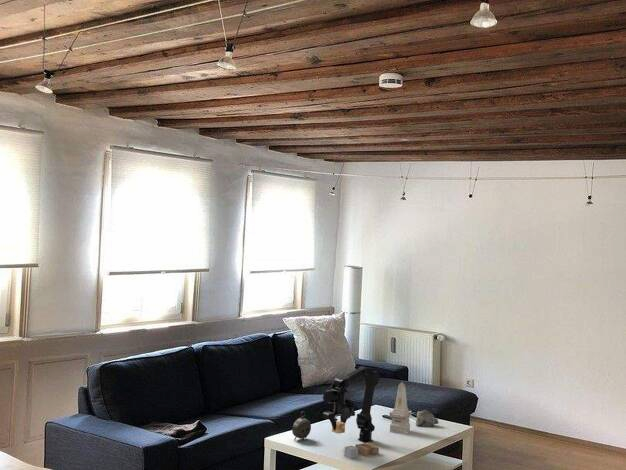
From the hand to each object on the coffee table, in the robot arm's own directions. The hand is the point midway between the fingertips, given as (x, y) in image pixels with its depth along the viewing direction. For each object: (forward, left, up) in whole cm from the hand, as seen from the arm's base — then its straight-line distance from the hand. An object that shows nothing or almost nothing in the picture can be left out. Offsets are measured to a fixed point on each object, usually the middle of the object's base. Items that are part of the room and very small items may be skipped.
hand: (338, 429), depth 370 cm
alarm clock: (+10, -20, -10) cm, 24 cm away
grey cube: (+4, +16, -10) cm, 19 cm away
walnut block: (-8, +15, -10) cm, 20 cm away
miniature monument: (-53, -6, -10) cm, 54 cm away
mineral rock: (-77, -7, -10) cm, 78 cm away
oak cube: (0, 0, -1) cm, 1 cm away
